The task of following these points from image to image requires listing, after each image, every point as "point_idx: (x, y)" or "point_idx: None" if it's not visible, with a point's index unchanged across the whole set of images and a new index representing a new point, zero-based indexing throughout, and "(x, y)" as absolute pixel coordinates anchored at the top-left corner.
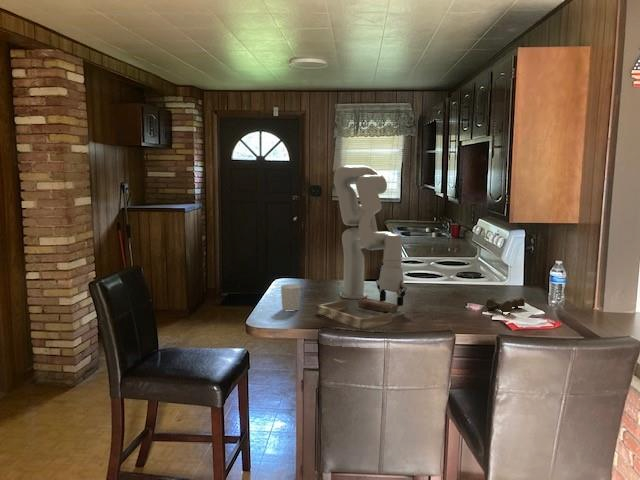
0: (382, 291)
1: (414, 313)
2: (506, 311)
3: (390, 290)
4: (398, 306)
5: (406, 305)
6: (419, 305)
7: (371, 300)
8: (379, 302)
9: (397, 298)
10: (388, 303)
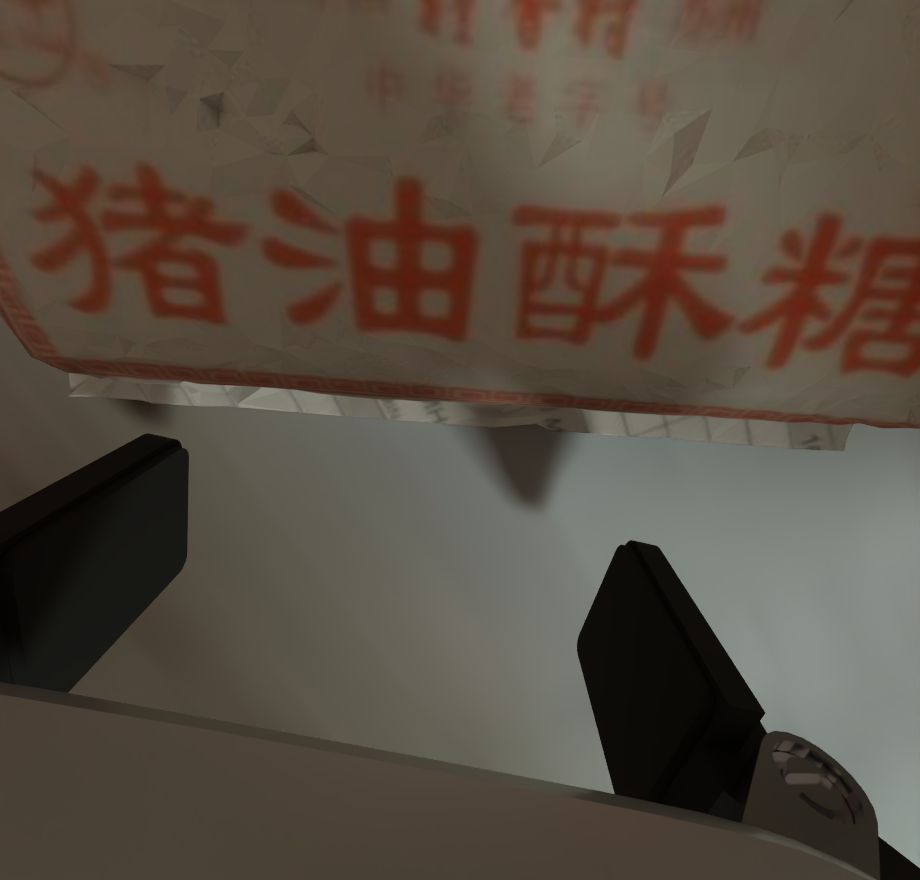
0: (709, 793)
1: (3, 483)
2: None
3: (29, 721)
4: (40, 341)
5: (349, 736)
6: None
7: (810, 180)
8: (452, 81)
9: (18, 523)
10: (187, 206)
